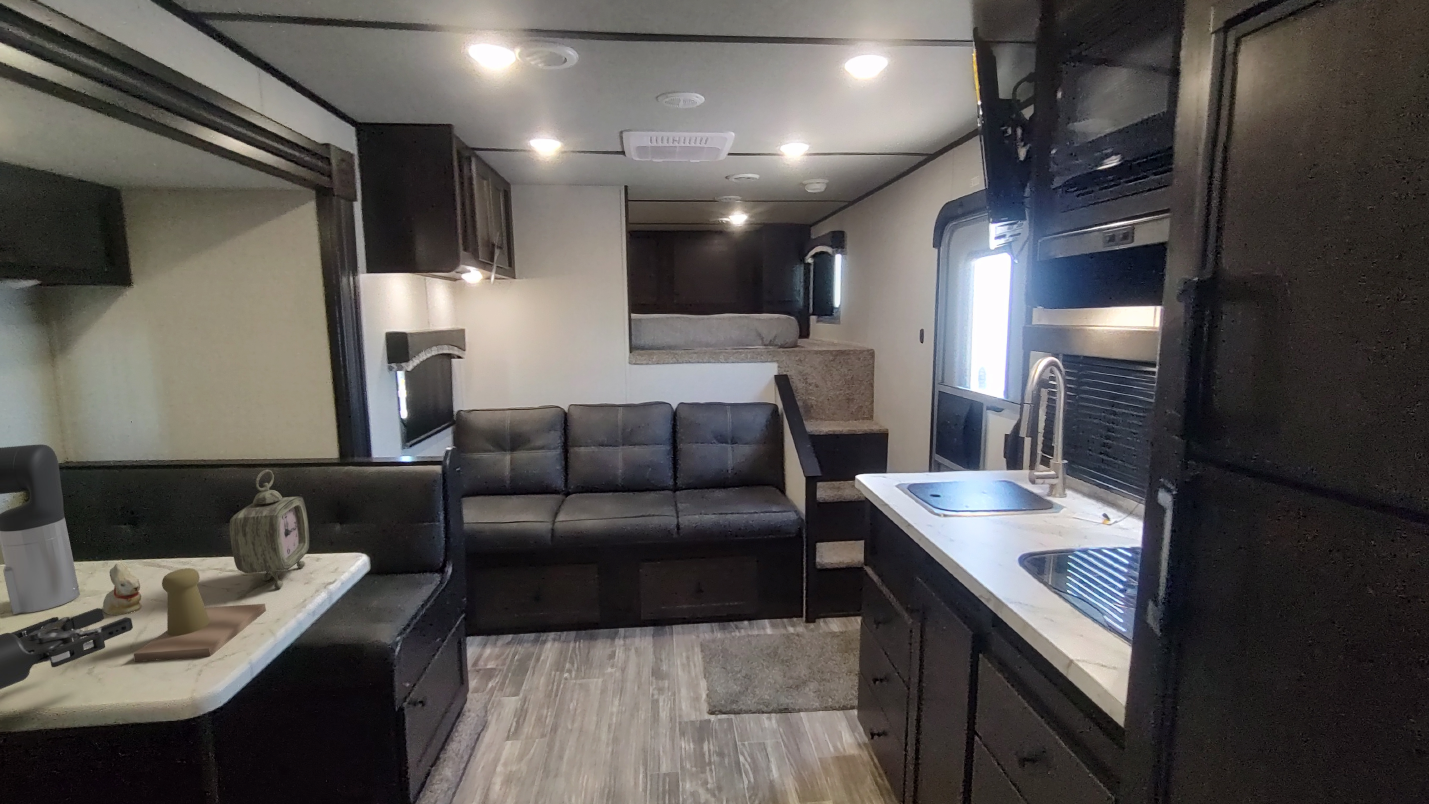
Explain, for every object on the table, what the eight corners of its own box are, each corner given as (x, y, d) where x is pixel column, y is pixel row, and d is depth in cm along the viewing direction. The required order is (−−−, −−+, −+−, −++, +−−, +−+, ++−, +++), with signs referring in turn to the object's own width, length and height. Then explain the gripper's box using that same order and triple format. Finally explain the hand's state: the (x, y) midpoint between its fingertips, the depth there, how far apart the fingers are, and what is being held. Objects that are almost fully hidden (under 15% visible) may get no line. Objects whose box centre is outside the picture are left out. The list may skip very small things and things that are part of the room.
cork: (162, 639, 110) (152, 581, 108) (172, 623, 115) (163, 568, 113) (205, 630, 112) (195, 574, 110) (213, 615, 118) (204, 561, 116)
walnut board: (210, 656, 107) (208, 648, 106) (134, 661, 105) (133, 653, 105) (266, 610, 122) (265, 603, 122) (201, 614, 121) (199, 607, 121)
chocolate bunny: (107, 621, 119) (98, 572, 118) (102, 608, 124) (93, 562, 123) (145, 610, 123) (137, 563, 122) (139, 598, 128) (131, 553, 127)
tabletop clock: (284, 591, 130) (268, 478, 126) (235, 596, 129) (218, 481, 124) (313, 563, 144) (300, 461, 140) (270, 567, 143) (255, 463, 138)
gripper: (-10, 658, 83) (137, 604, 98) (-58, 638, 89) (88, 589, 104) (1, 708, 85) (145, 647, 100) (-47, 685, 90) (96, 630, 105)
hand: (116, 617), depth 102 cm, fingers open, 8 cm apart
